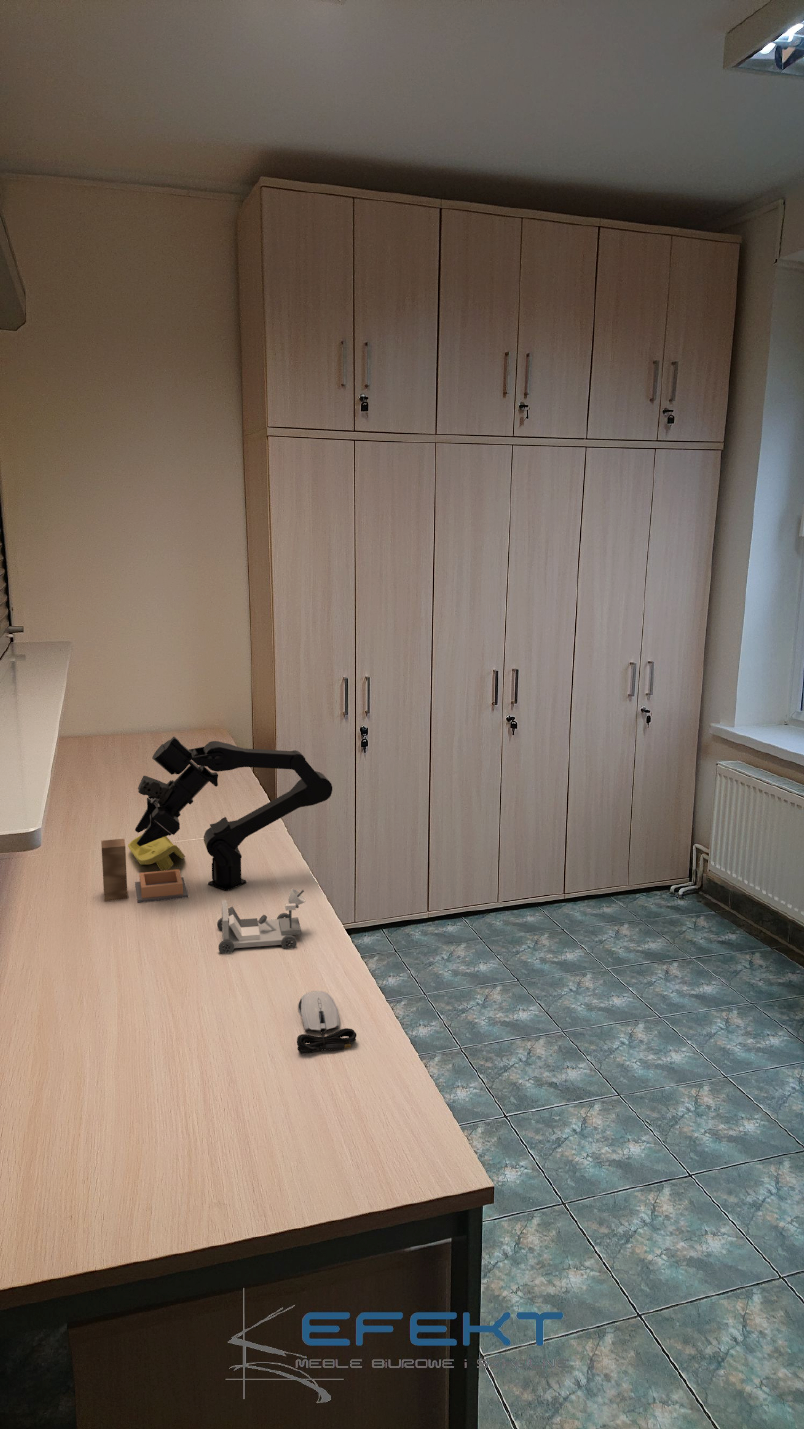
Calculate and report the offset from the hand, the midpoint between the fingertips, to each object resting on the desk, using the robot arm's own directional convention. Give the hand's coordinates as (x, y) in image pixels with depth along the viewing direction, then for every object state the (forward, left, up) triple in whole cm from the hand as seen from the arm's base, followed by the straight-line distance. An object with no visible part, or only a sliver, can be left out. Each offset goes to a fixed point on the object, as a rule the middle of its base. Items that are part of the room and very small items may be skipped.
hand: (137, 837), depth 209 cm
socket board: (-3, -4, -13) cm, 14 cm away
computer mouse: (-68, +19, -14) cm, 72 cm away
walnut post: (+3, +4, -13) cm, 14 cm away
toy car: (-38, 0, -14) cm, 40 cm away
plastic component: (+12, -16, -14) cm, 24 cm away
